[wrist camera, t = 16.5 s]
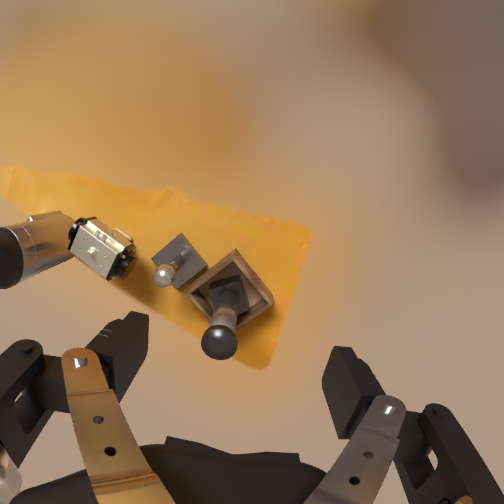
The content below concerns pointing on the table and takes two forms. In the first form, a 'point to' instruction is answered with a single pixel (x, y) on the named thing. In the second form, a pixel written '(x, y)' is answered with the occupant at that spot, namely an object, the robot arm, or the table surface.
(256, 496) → the robot arm
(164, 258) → the stud mount
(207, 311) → the bin
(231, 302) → the strut
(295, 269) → the table surface
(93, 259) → the pneumatic rotary actuator
